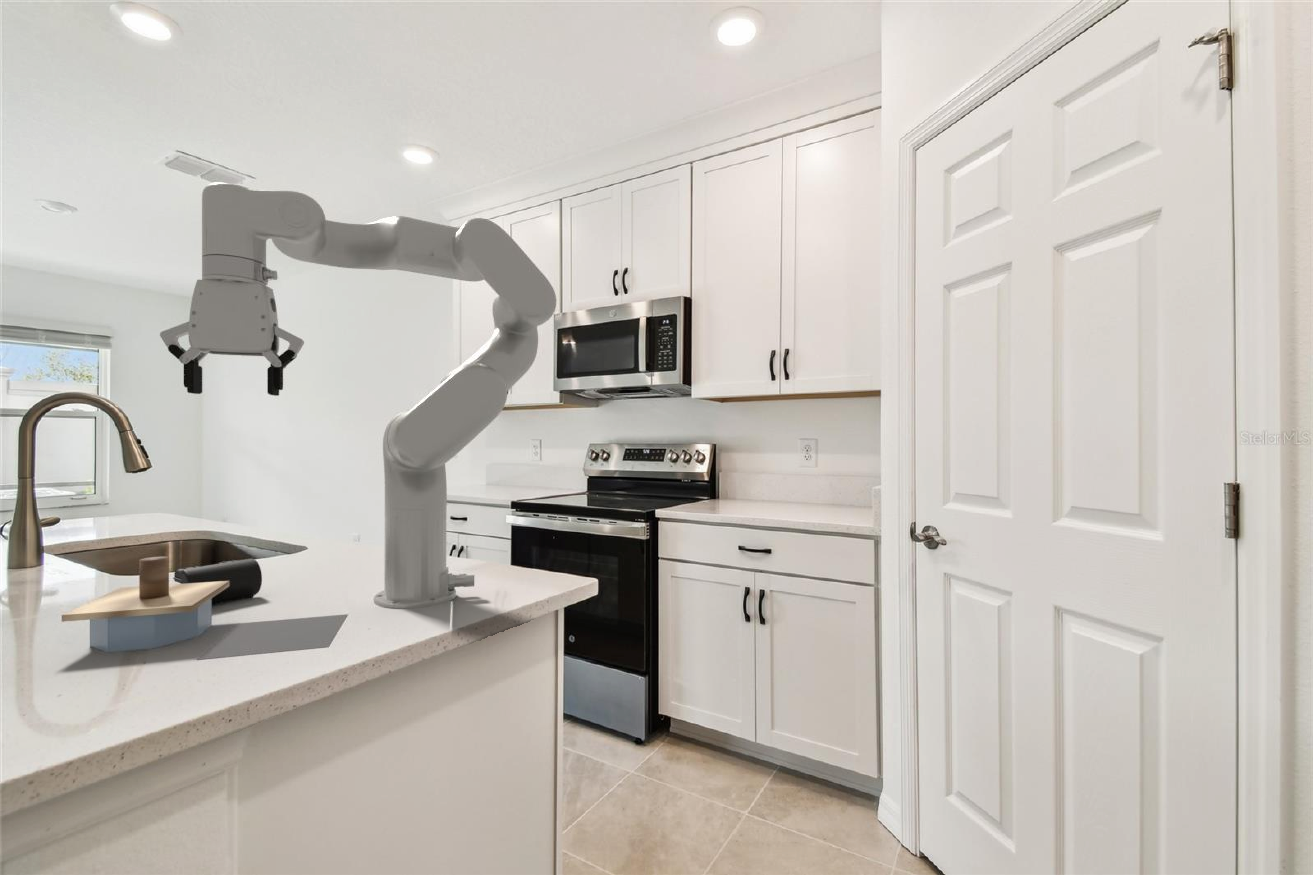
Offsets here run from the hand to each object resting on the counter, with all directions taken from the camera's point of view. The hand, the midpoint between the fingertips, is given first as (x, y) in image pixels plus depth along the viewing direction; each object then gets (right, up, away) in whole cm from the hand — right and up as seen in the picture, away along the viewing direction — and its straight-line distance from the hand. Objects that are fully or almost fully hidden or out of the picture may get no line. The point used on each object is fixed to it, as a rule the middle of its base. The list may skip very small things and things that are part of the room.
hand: (234, 394), depth 85 cm
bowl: (-6, -33, -6) cm, 34 cm away
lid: (-6, -28, -6) cm, 30 cm away
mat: (+10, -33, -6) cm, 35 cm away
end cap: (-10, -34, +10) cm, 36 cm away
